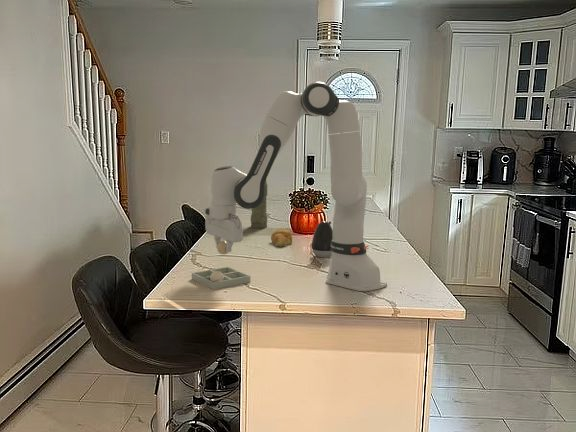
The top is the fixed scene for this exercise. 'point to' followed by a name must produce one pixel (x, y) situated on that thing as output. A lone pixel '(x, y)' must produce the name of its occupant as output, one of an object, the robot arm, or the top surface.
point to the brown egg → (222, 247)
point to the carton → (230, 278)
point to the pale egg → (216, 276)
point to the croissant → (281, 237)
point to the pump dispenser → (322, 240)
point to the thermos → (260, 213)
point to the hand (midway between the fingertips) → (223, 250)
